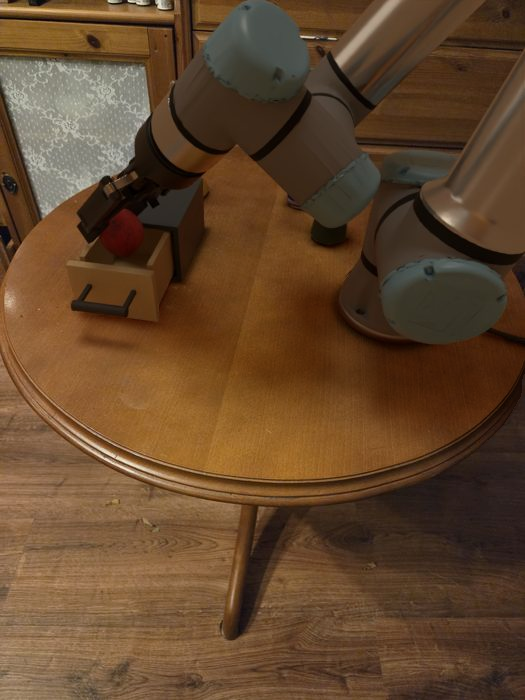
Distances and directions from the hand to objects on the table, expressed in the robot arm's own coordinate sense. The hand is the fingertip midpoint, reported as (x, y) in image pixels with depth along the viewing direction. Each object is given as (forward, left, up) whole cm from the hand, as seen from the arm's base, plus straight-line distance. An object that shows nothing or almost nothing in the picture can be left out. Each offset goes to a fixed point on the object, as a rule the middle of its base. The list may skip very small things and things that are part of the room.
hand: (103, 225), depth 68 cm
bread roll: (-3, -30, -11) cm, 32 cm away
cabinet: (-3, -11, -10) cm, 15 cm away
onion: (-3, +2, -4) cm, 5 cm away
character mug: (-31, -21, -11) cm, 39 cm away
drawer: (-3, +3, -9) cm, 10 cm away
